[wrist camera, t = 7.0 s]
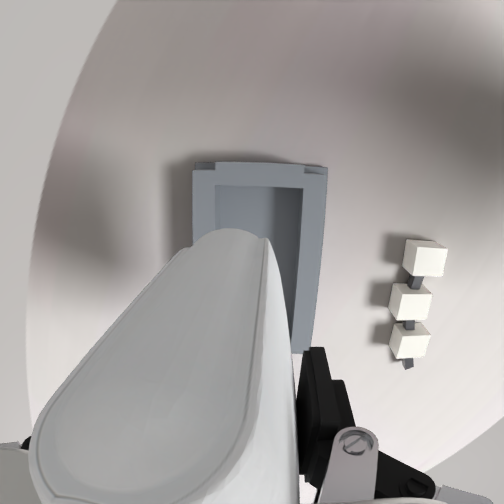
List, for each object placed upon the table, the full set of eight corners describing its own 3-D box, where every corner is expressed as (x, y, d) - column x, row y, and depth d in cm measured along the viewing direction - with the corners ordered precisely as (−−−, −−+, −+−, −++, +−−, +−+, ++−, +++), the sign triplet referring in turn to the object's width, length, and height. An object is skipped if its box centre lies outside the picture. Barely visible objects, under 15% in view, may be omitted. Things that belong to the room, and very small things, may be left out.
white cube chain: (438, 241, 25) (451, 249, 22) (409, 361, 28) (417, 375, 26) (400, 238, 25) (411, 246, 22) (374, 363, 28) (380, 377, 26)
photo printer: (298, 411, 15) (303, 634, 4) (219, 416, 16) (173, 624, 4) (278, 219, 13) (285, 621, 1) (175, 233, 13) (-78, 471, 1)
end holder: (326, 166, 24) (333, 167, 21) (309, 339, 28) (313, 359, 25) (197, 161, 24) (187, 161, 21) (200, 333, 28) (192, 352, 25)
